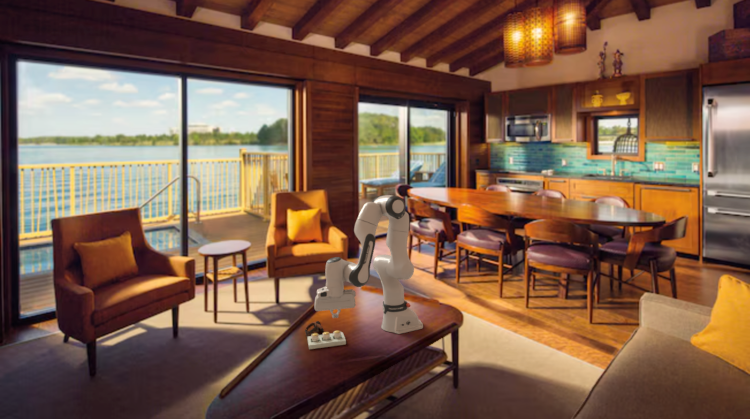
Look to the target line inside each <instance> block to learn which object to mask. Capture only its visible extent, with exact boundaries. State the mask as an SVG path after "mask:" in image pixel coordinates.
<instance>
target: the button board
mask: <svg viewBox="0 0 750 419" xmlns="http://www.w3.org/2000/svg"><path fill="white" fill-rule="evenodd" d="M306 338H307V344H308V350H314V349H321V348H322V349H323V348H328V347H337V346H344V345H346V344H347V339H346V337H345V335H344V332H342V331H341V338H340V339H334V333H333V332H332V333H330V340H326V341H324V340H323V335H322V334H319V341H318V342H312V339H311V336H306Z"/></svg>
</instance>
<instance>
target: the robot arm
mask: <svg viewBox="0 0 750 419" xmlns="http://www.w3.org/2000/svg"><path fill="white" fill-rule="evenodd" d="M359 211H360V212H359V213H358V216H357V218H356V221H355V223H354V228H353V232H354V236H355V237H356V238H357V239H358V241H359V242H360V246H361V250H360V254H359V258H358V262H357V263H355V262H352V261H347V260H345V259H343V258H341V257H340V256H335V257H331V258H329V259H328V260H327V261H326V264H325V268H324V269H325V273H324V274H325V280H326V281H325V286H323V287H320V288H317V290H316V295H315V298H314V307H313V308H314V310H315V311H316V312H323V311H325V312H326V311H330V313H331V317H332V319H338V318H339V314H340V313H341V310H344V309H354V308H355V307H356V298H355V297H356V296H357V294H356V290H354V289H352V288H349V289H344V285H345V282H347V283H350V284H352V285H353V286H354V287H357V288H361V287H364V286H365V285H366V284H367V283H368V282H369V280H370V276H371V264H372V268H373V269H374V271H375V272H376V273H377V275H378V277H379V280H380V282H381V286H382V293H383V295H382V296H383V301H382V313H383V314H382V316H383V317H382V322H381V326H380V327H381V328H380V329H382V330H383V331H384V332H385V331H386V332H388V333H389V332H390V333H394V334H397V335H400V334H405V333H408V332H409V333H411V332H413V331H418V330H421V329H423V328H424V323H423V322H422V321H421V319H420V318H419V316H418V314H417V313H416V312H415V310H413V309H411V306H412V305H411V304H410V303H409V302H408V301H407V300H405V288H404V286H403V284H402V283H401V282H400V281H401V280H403V281H405V280H407V281H408V280H410V279H411V278H412V277H413V275H414V271H415V267H414V264H413V263H412V260H411V259H410V257H409V252H408V237H409V229H410V215H409V213H408V212H407V211H406V203H405V200H404V198H402V197H400V196H399V195H392V194H391V195H390V194H385V195H383V194H382V195H378V196H376V197H375V198H373V200H372V201H366V202H365V203H364V204H363V206H362V208H360V210H359ZM383 216H384V217H387V218H388V227H387V233H386V240H385V244H386V246H387V248H388V249H389V253H390V254H378V255H377V256H376V257H374V256H373V255H374V251H375V248H376V247H375V246H376V233H377V228H378V225H379V222H380V220H381V218H383ZM373 257H374V259H373ZM372 262H373V263H372ZM334 310H337V312H335V313H334Z"/></svg>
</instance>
